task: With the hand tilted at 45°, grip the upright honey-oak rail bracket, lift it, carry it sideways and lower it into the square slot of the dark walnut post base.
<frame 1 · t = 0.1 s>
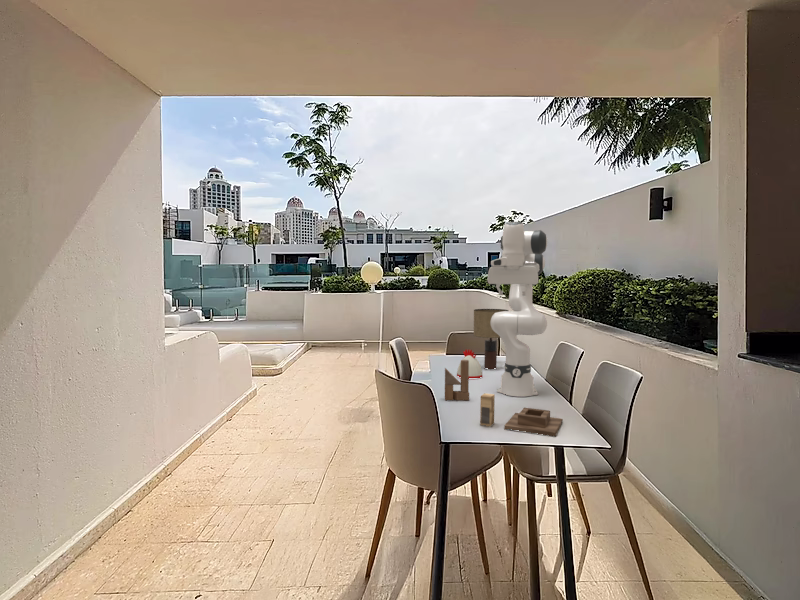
hand: (512, 295, 200), 48 cm above the table, tool pointing down, fingers open, 8 cm apart
lamp: (490, 369, 290), on the table
kitchen timer: (469, 377, 269), on the table
post base: (534, 425, 183), on the table
wooden block: (456, 400, 221), on the table
rail bracket: (487, 423, 186), on the table
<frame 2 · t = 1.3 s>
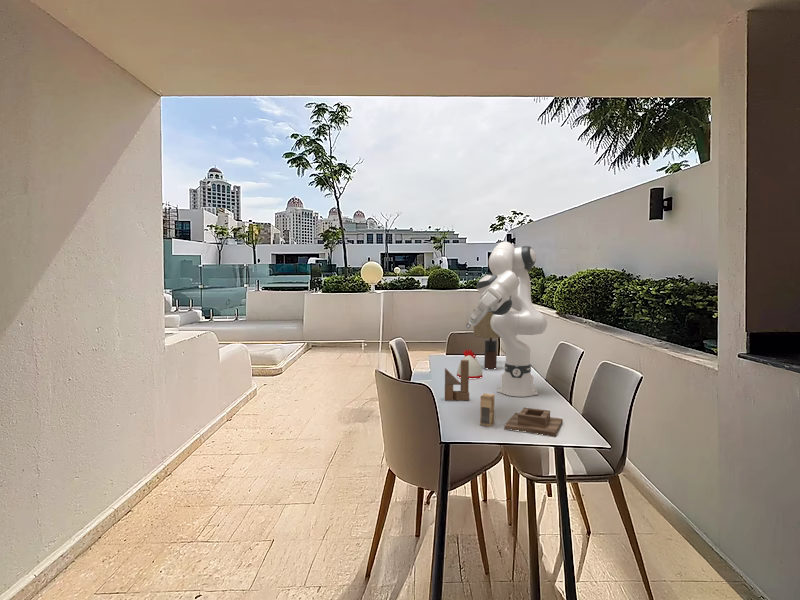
hand: (469, 322, 194), 37 cm above the table, tool tilted 50°, fingers open, 8 cm apart
nothing on the table moved.
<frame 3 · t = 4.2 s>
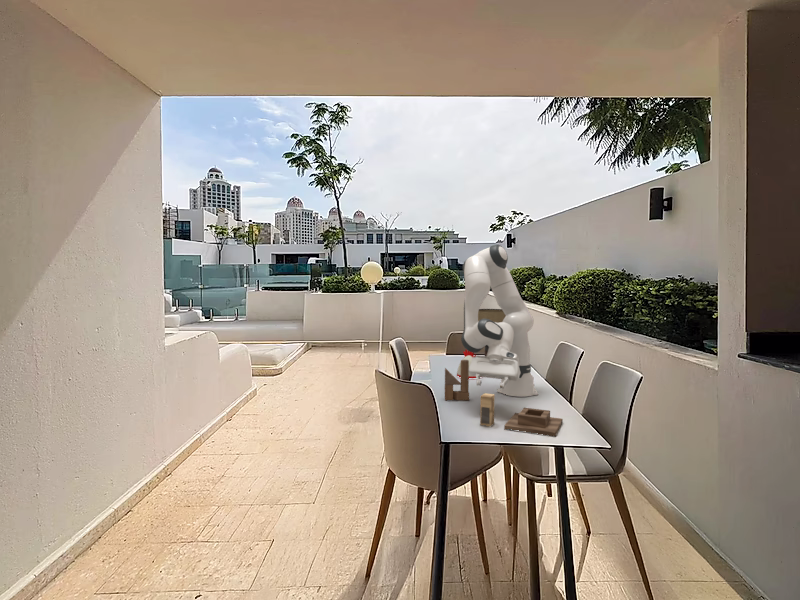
hand: (490, 386, 192), 13 cm above the table, tool tilted 45°, fingers open, 8 cm apart
nothing on the table moved.
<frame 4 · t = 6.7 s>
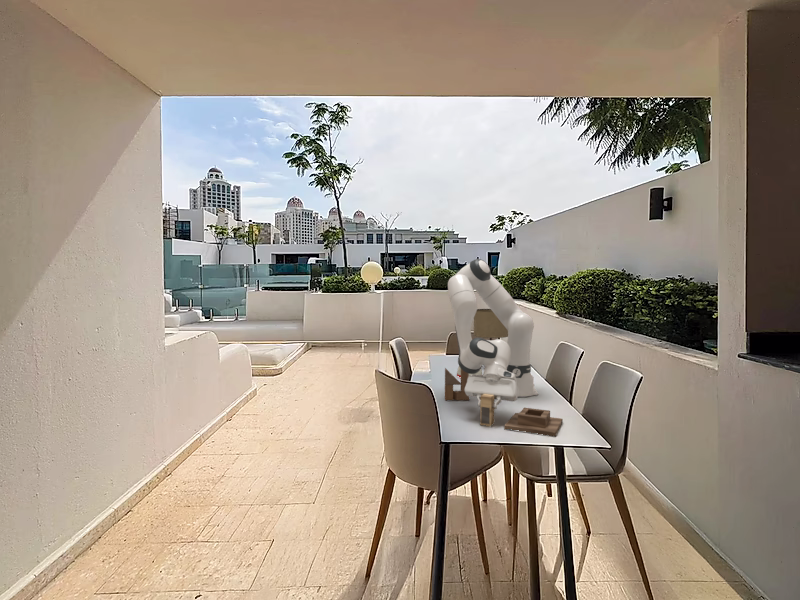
hand: (487, 407, 185), 7 cm above the table, tool tilted 45°, fingers closed on rail bracket, 4 cm apart
rail bracket: (487, 423, 186), on the table, touching gripper
everything else where it was.
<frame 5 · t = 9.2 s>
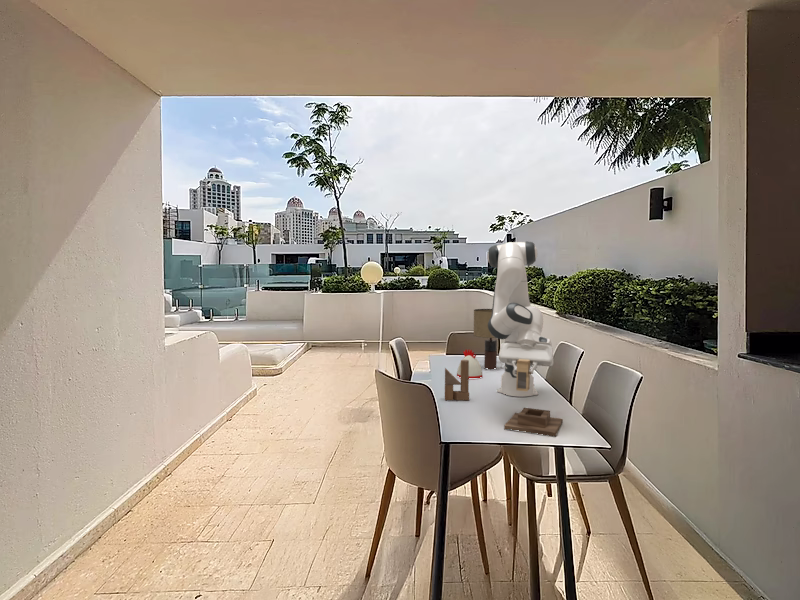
hand: (523, 372, 182), 20 cm above the table, tool tilted 45°, fingers closed on rail bracket, 4 cm apart
rail bracket: (523, 389, 183), point 14 cm above the table, touching gripper
everything else where it was.
when the fingers open (10 cm above the table, at t = 11.7 s): rail bracket drops 2 cm, resting on post base.
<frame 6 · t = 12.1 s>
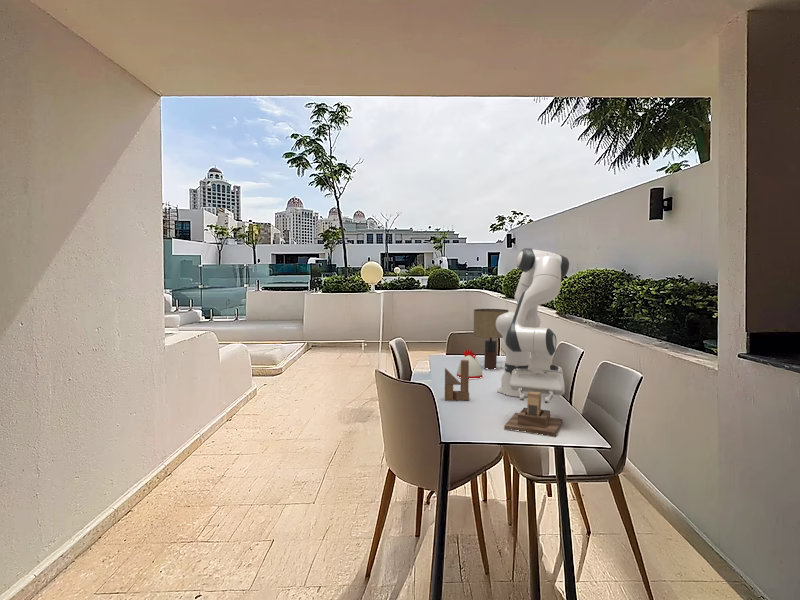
hand: (534, 401, 182), 10 cm above the table, tool tilted 45°, fingers open, 8 cm apart
rail bracket: (533, 422, 183), point 1 cm above the table, touching post base
everything else where it was.
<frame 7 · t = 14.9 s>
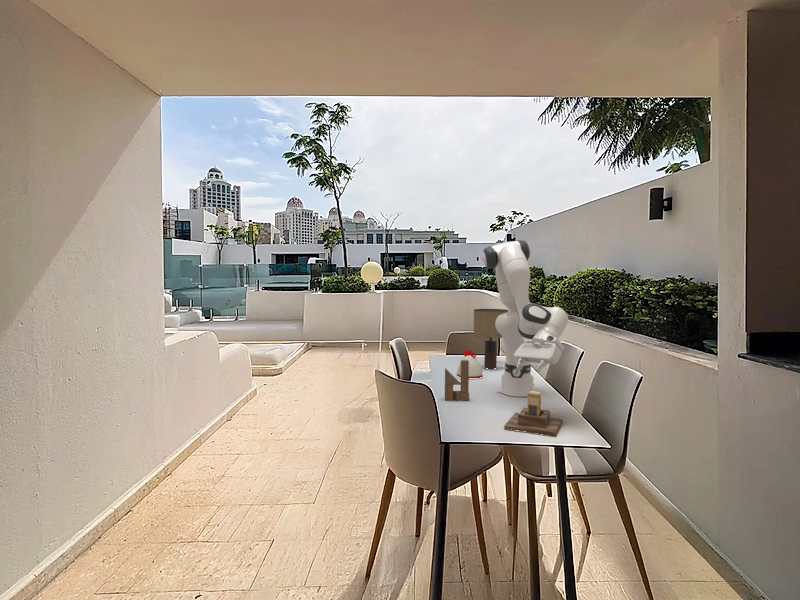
hand: (527, 369, 190), 20 cm above the table, tool tilted 45°, fingers open, 8 cm apart
nothing on the table moved.
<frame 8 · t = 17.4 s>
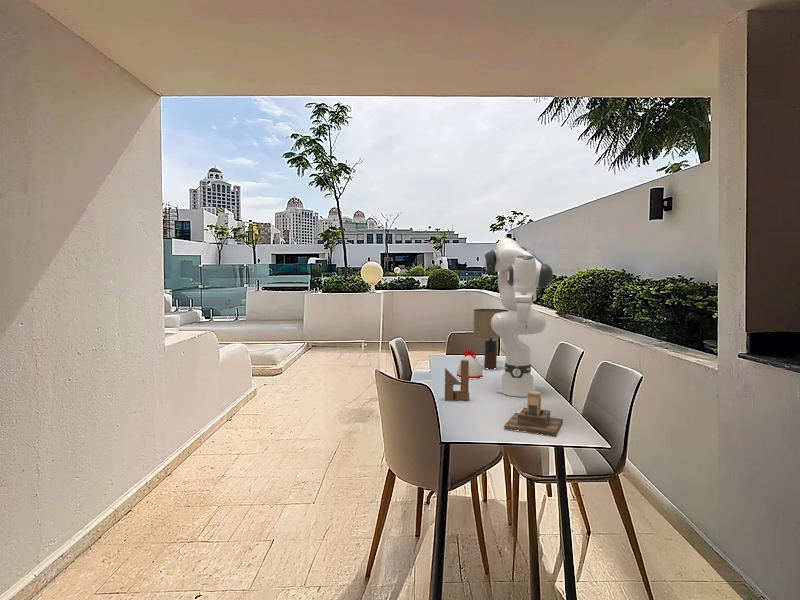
hand: (524, 330, 195), 34 cm above the table, tool pointing down, fingers open, 8 cm apart
nothing on the table moved.
at the end: rail bracket 0.1 cm off-centre on the post base, point 1.5 cm above the post base's base; rail bracket tilted 0°; the gripper is holding nothing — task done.
